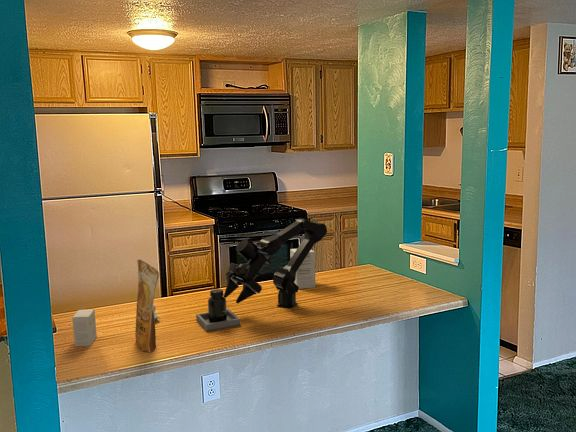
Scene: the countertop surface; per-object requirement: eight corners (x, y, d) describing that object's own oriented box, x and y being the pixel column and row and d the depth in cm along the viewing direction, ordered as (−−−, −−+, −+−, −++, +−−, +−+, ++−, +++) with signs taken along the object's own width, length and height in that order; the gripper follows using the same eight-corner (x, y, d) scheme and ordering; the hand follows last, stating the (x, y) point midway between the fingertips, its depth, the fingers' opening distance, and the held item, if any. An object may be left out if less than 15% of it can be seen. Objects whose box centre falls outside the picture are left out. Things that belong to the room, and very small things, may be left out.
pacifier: (145, 325, 205) (160, 322, 208) (143, 309, 204) (159, 306, 207) (140, 319, 212) (156, 316, 214) (139, 304, 211) (154, 301, 213)
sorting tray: (228, 315, 214) (228, 308, 214) (240, 325, 203) (240, 318, 202) (196, 320, 209) (196, 314, 208) (206, 331, 197) (206, 324, 197)
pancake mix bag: (151, 333, 197) (146, 257, 192) (164, 351, 180) (159, 269, 176) (132, 336, 194) (127, 259, 190) (143, 355, 177) (138, 271, 173)
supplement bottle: (228, 323, 203) (226, 292, 201) (209, 325, 202) (208, 294, 200) (225, 317, 210) (224, 287, 208) (207, 319, 208) (206, 288, 206)
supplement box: (290, 284, 255) (289, 248, 252) (309, 282, 258) (308, 247, 255) (296, 289, 246) (296, 253, 243) (316, 287, 249) (315, 251, 246)
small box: (81, 337, 194) (78, 309, 192) (97, 337, 194) (94, 308, 192) (74, 346, 186) (71, 317, 184) (91, 345, 186) (88, 316, 185)
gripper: (228, 250, 216) (204, 283, 211) (253, 259, 201) (228, 294, 196) (246, 266, 221) (223, 298, 217) (272, 276, 206) (248, 310, 202)
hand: (230, 299), depth 208 cm, fingers open, 9 cm apart
